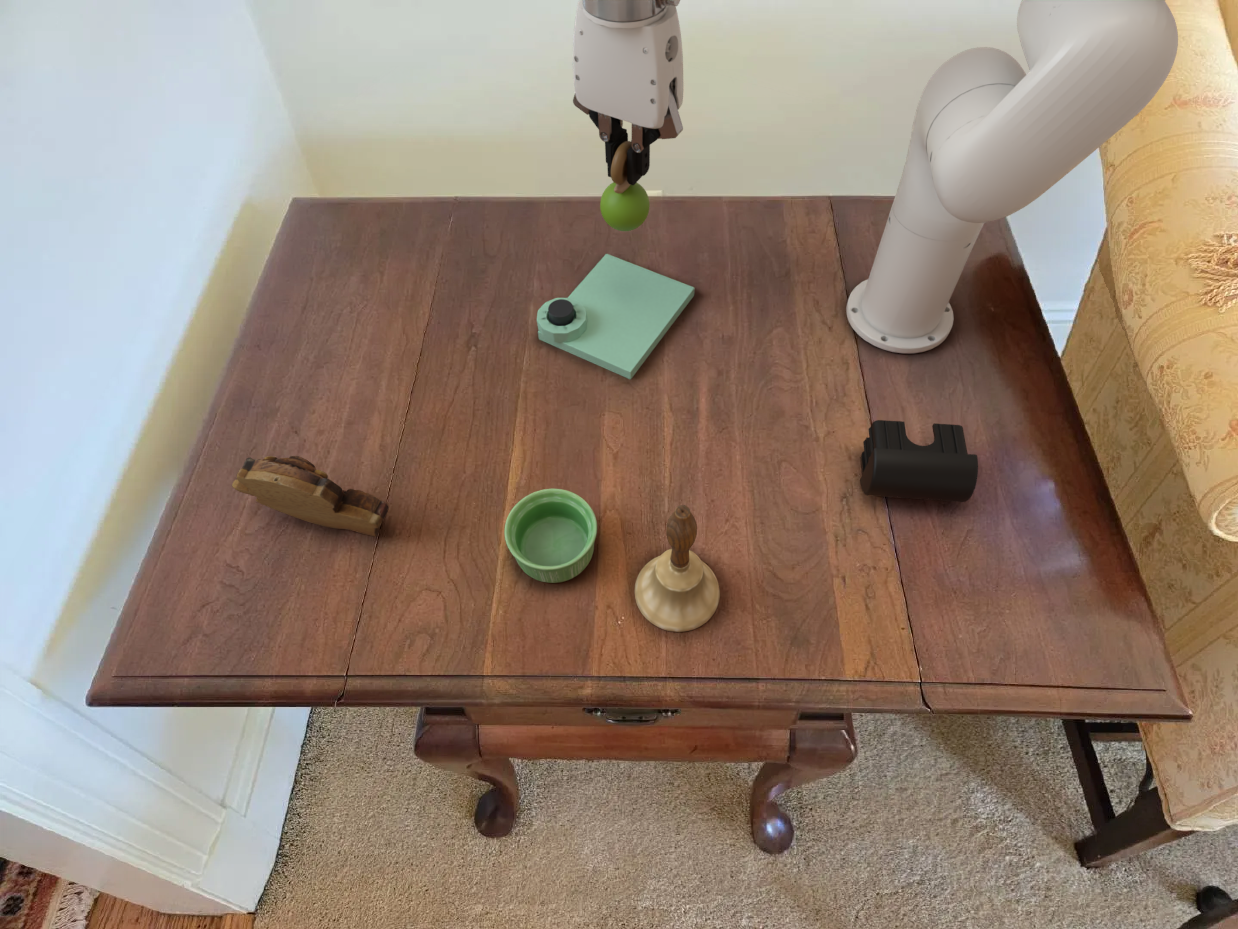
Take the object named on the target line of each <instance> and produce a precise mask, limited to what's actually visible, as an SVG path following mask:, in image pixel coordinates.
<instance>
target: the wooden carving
mask: <svg viewBox="0 0 1238 929" xmlns="http://www.w3.org/2000/svg"><path fill="white" fill-rule="evenodd" d="M231 487H232V489H234V490H236V491H237V492H239V493H242V494H246V495H249V496H253V497H256V498H255V502H256V503H258V504H260V505H262V506H265V507H267V508H270V509H272V510H275V511H277V512H280V513H282V514H285V515H288V516H291V517H292V518H295V519H299V520H301V521H305V522H308V523H312V524H314V525H317V526H322V527H326V528H330V529H336V530H349V531H353V532H356V533H358V534H363V535H365V536H370V537H374V538H375V537H378V534H379V532H380V529H381V525H382V524H383V521H384V520H385V518H386V516H387V513H388V512H389V511H388V510H389V507H390V505H388V503H386V502H385V501H383V500H381V499H380V498H378V497H377V496H375V495H372V494H370V493H369V492H365V491H363V490H361V489H354V488H348V489H346V490H345V489H343V487H341V486H340V485H338V484H337V483H336V482H335V481H333V480H331V479H329V475H328V474H327V472H325V471H323V470H321V469H317V468H316V465H315V464H314V463H312V462H311V461H309V460H307V459H306V458H304V457H302V456H298V455H290V456H289V457H277V456H273V455H267V456H265V457H264V458H252V457H247V458H246V459H245V460H244V462H243V465H242V467H241V468H239V470H238V471H237V473H236V478H235V479H234V480H233V482H232V484H231Z"/></svg>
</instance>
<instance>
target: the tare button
mask: <svg viewBox="0 0 1238 929" xmlns="http://www.w3.org/2000/svg"><path fill="white" fill-rule="evenodd" d="M548 312H549V319H550V321H551V322H552V323H553V324H554V325H557V326H566V325H568V324H570V323H571V322H572V321H573V319H574V308H573V305H572V303H571V302H569V301H568V300H564V299H559V300H555V301H553V302H552V303H551V304H550V305H549V307H548Z"/></svg>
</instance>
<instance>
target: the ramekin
mask: <svg viewBox="0 0 1238 929" xmlns="http://www.w3.org/2000/svg"><path fill="white" fill-rule="evenodd" d="M503 531H504V532H503V534H504V540H505V545H506V547H507V549H508V551H509V552H510V553H511V555H512V557H513V558H514V559H515V561H516V563H517V564H518V566H519V567H520V569H521V570H522V571H523V572H524V573H525V574H526V575H527V576H528V577H530V578H532V579H534V580H536V581H539V582H541V583H548V584H557V583H563V582H566V581H569V580H572V579H574V578H575V577H577V576H579V575H580V574H581V573H582V572H583V571H584V570H585V569H586V568H587V567H588V565H589V563H590V562H591V560H592V558H593V554H594V550H595V541H596V538H597V534H598V521H597V518H596V514H595V512H594V510H593V508H592V507H591V505H590V504H589V503H588V502H587V501H586V500H585V499H584V498H582V497H581V496H580V495H578V494H576V493H574V492H572V491H570V490H567V489H562V488H545V489H544V488H543V489H540V490H537V491H534V492H532V493H529V494H528V495H526V496H525V497H523V498H521V499H520V500H519V501H518V502H517V503H515V505H514V506H513V507H512V508H511V510H510V512H509V513H508V515H507V517H506V520H505V523H504V530H503Z"/></svg>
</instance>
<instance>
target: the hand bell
mask: <svg viewBox="0 0 1238 929" xmlns="http://www.w3.org/2000/svg"><path fill="white" fill-rule="evenodd" d="M665 532H666V533H665V534H666V539H667V542H668V545H669V546H670V548H669V549H667V550H665V551H664V552H663V553H661V555H658V556H656V557H654V558H652V559H651V560H650V561H648V562H646V564H645V565H644V566H642V568H641V570H640V571H639V573H638V575H637V577H636V579H635V584H634V598H635V603H636V606H637V608H638V610H639V612H640V613H641V614H642V616H643V617H644V618H645V619H646V620H647V621H648V622H649V623H650V624H652V625H653V626H655V627H657V628H659V629H662V630H664V631H667V632H672V633H683V632H689V631H693V630H696V629H698V628H700V627H702V626H703V625H705V624H706V623H707V622H708V621H709V620H710V619H711V618H712V617H713V616H714V614H715V613H716V611H717V609H718V606H719V603H720V597H721V590H720V584H719V581H718V578H717V576H716V574H715V573H714V571H713V570H712V569H711V567H710V566H709V565H707V564H706V563H705V562H704V561H703V560H701V558H700V557H699V555H697V553H695V552H694V551H692V550H690V549H691V548H692V546H693V545H694V543H695V541H696V538H697V535H698V524H697V521H696V518H695V516H694V514H693V513H692V511H691V509H690V507H688V506H687V505H685V504H680V505H678V506H676V507H675V509H674V511H673V512H672V513H671V514H670V516H669V517H668V519H667V522H666V528H665Z"/></svg>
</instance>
